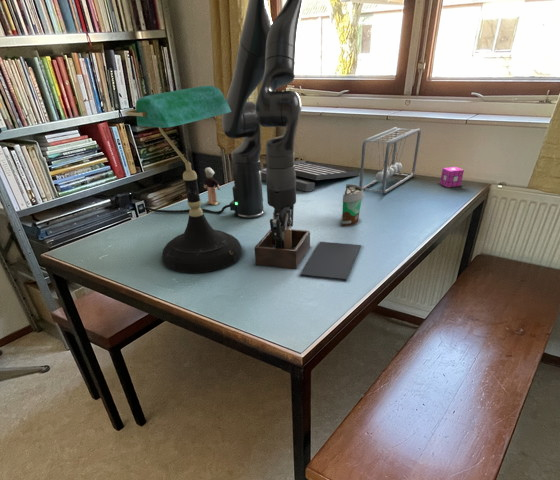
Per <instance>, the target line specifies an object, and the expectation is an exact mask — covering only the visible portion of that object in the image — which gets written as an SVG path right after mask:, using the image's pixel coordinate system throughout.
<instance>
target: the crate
mask: <svg viewBox="0 0 560 480" xmlns="http://www.w3.org/2000/svg"><path fill="white" fill-rule="evenodd" d="M291 237H292V248H293V249H292V250H291V249H280V248H275V240H272V234H271V228H269V230H268V231H267V232H266V234H265V235H264V236H263V237H262V239H260V240H259V242H257V244H256V245H255V246H254V258H255V259H254V260H255V265H256V266H265V267H274V268H282V269H294V270H296V269H298V267H299V266H300V264H301V262H303V260H304V258H305V256H306V254H307V253H308V251H309V250H310V248H311V230H306V229H305V230H304V229H294V228H293V229H292V228H291Z"/></svg>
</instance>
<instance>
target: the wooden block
mask: <svg viewBox="0 0 560 480" xmlns="http://www.w3.org/2000/svg"><path fill="white" fill-rule="evenodd" d="M283 227H284V226H281V228H283ZM291 229H292V228H291ZM291 229H290V228H289V226H288V225H287V230H286V231H285V233H284V249H291V250H293V247H292V237H291ZM281 232H282V231H281ZM277 235H279V234H278V233H277ZM274 248H276V240H275V245H274Z"/></svg>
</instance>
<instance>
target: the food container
mask: <svg viewBox="0 0 560 480" xmlns="http://www.w3.org/2000/svg"><path fill="white" fill-rule="evenodd" d="M362 187H363V186H362ZM362 187H360V186H359V185H357V184H351V183H346V184H345V190H344V194H342V215H341V227H350V226H354V225H356V224H358V223H359V219H360V214H361V213H360V212H361V206H362V205H361V204H362V200H363V198H365V193H364V190H363V189H362Z"/></svg>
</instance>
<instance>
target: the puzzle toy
mask: <svg viewBox="0 0 560 480" xmlns="http://www.w3.org/2000/svg"><path fill="white" fill-rule="evenodd" d="M464 171H465V170H464V169H462V168H460V167H457V166H450V167H449V166H448V167H443V168H442V170H441V175H440V180H439V184H440V185H442V186H444V187H445V188H454V187H461V185H462V180H463V177H464V173H465V172H464Z"/></svg>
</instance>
